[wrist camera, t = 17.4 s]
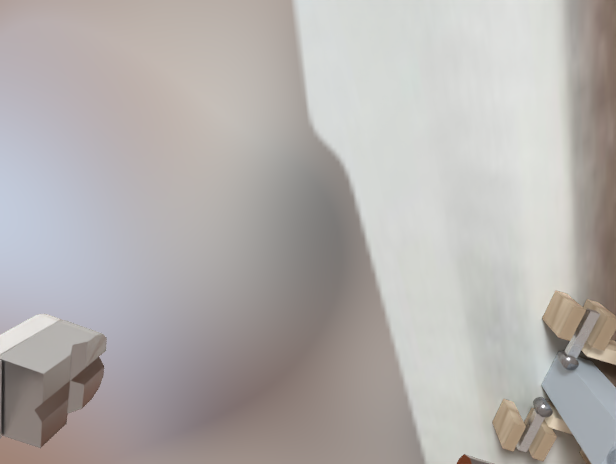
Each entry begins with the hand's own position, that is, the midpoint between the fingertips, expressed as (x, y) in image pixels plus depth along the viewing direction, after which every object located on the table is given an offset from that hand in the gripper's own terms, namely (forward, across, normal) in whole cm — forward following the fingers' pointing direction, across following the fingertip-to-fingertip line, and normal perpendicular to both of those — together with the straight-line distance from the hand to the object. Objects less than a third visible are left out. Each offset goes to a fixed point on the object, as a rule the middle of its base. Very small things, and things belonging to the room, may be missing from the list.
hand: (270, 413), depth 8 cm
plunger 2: (+27, -22, +6) cm, 35 cm away
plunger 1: (+27, -22, +16) cm, 38 cm away
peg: (+29, -25, +11) cm, 40 cm away
